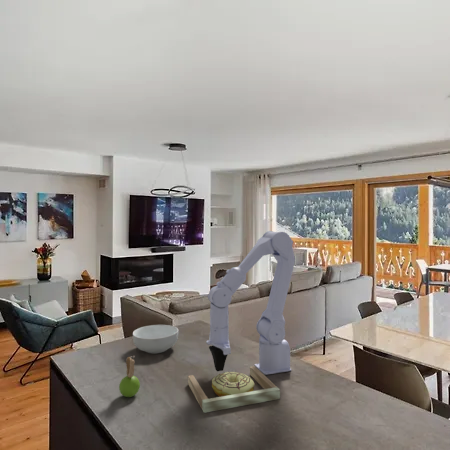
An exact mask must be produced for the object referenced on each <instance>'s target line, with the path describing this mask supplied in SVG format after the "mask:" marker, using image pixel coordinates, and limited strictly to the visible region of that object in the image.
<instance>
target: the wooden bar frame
mask: <svg viewBox="0 0 450 450" xmlns="http://www.w3.org/2000/svg"><path fill="white" fill-rule="evenodd" d="M249 375H250V377H252V379H253V380H254V381H255V382H256V383H257V384H259V386H260V387H262V389H258V390H254V391H251V392H245V393H239V394H234V395H228V396H222V397H219V396H216V397H212V398H208V396H207V395H206V393H205V392H204V390H203V388H202V387H201V385H200V384H199V382H198V380H197V379H196V378H195V375H193V374H190V375H188V376H187V384H188V387H189V389H190V390H191V392H192V394H193V396H194V398H195V400H196V401H197V403H198V405H199V406H200V408H201V410H202V412H203V413H209V412H214V411H220V410H226V409H227V410H228V409H232V408H237V407H243V406H247V405H248V406H249V405H253V404H258V403H259V404H260V403H265V402H268V401H269V402H270V401H275V400H281V389H280V388H279V387H278V386H277V385H276V384H275V383H273V382H272V381H271V380H270V378H268V377H267V376H266V375H264V374H263V373H262V372H261V371H260V370H259V369H258V368H257V367H255V366H254V365H253V366H249Z"/></svg>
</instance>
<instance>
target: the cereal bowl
mask: <svg viewBox="0 0 450 450" xmlns="http://www.w3.org/2000/svg"><path fill="white" fill-rule="evenodd" d="M178 340H179V328H178V327H176V326H174V325H170V324H151V325H145V326H141V327H138V328H137V329H134V330H133V332H132V341H133V344H134V346H135V347H136V348H137V349H138V350H140V351H143V352H146V353H147V354H160V353H164V352H166V351H167V350H169V349H170V348H173V346H175V344H176V343H177V341H178Z"/></svg>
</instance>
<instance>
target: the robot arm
mask: <svg viewBox="0 0 450 450" xmlns="http://www.w3.org/2000/svg"><path fill="white" fill-rule="evenodd" d="M293 244H294V241H293V239H292V238H291V237H290V235H289V234H288V233H287V232H285V231H272V230H269V231H265V233H263V234H262V236H261V237H260V238H259V239H258V240H257V241H256V243H255V244H254V246H253V247H252V248H251V250H250V251H249V252H248V253H247V255H246V256H245V257H244V258H243V260H242V261H241V262H240V264H239V265H238V266H235V267H231V268H230V269H229V268H228V269H227V270H226V271H225V272H226V273H225V275H224V276H223V277H222V279H221V280H220V281H217V282H216V283H215V284H216V285H215V286H213V287H211V289H209V292H208V294H207V299H208V301H209V302H210V303H209V304H210V306H209V307H210V310H209V335H208V337H209V339H207V340H206V345H208V349H209V351H210V354H211V356H212V360H213V364H214V370H215V371H216V372H222V371H223V372H224V369H225V364H226V361H227V357H228V355H231V353H232V351H231V350H232V349H231V346H230V339H229V338H230V337H229V332H230V331H229V329H230V327H229V321H230V320H229V305H230V304H231V303H232V298H233V296H234V294H235V293H236V292H237V291H238V290H239V289H240V287H241V286H242V285H243V283H245V282H246V280H247V273H248V272H249V271H251V269H252V268H253V267H254V266H255V265H256V264H257V263H258V262H259V261H260V259H262V258H263V257H264V256H268V255H272V256H273V258H274V259H275V260H276V267H275V271H274V275H273V279H272V283H271V286H270V287H271V289H270V293H269V296H268V301H267V304H266V309H265V310H263V312H261V316H260V318H259V319H258V321H257V323H256V332H257V333H258V335H259V338H258V346H259V347H258V354H259V355H258V359H259V360H258V363H254V365H253V366H255V367H256V368H257V369H258V370H259V371H260V372H261V373H262V374H264V375H265V376H266V375H273V374H279V373H285V372H291V371H292V368H291V347H290V344H289V342H288V341H287V340H286V339H285V337H286V327H285V325H286V320H285V317H284V314H283V313H284V310H285V306H286V301H287V297H288V292H289V288H290V284H291V279H292V274H293V270H294V268H295V267H294V266H295V262H296V261H295V260H296V258H295V253H294V247H293Z"/></svg>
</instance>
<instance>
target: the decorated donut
mask: <svg viewBox="0 0 450 450" xmlns="http://www.w3.org/2000/svg"><path fill="white" fill-rule="evenodd" d="M254 387H255V382H254V379H253V378H251V376H249V375H247V374H245V373H241V372H238V371H223V372H222V373H218V374H217V375H215V376H214V377H213V378H212V379H211V388H212V390H213V392H214V393H215V395H216V396H217V397H222V396H228V395H234V394H239V393H245V392H251V391H255V388H254Z"/></svg>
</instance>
